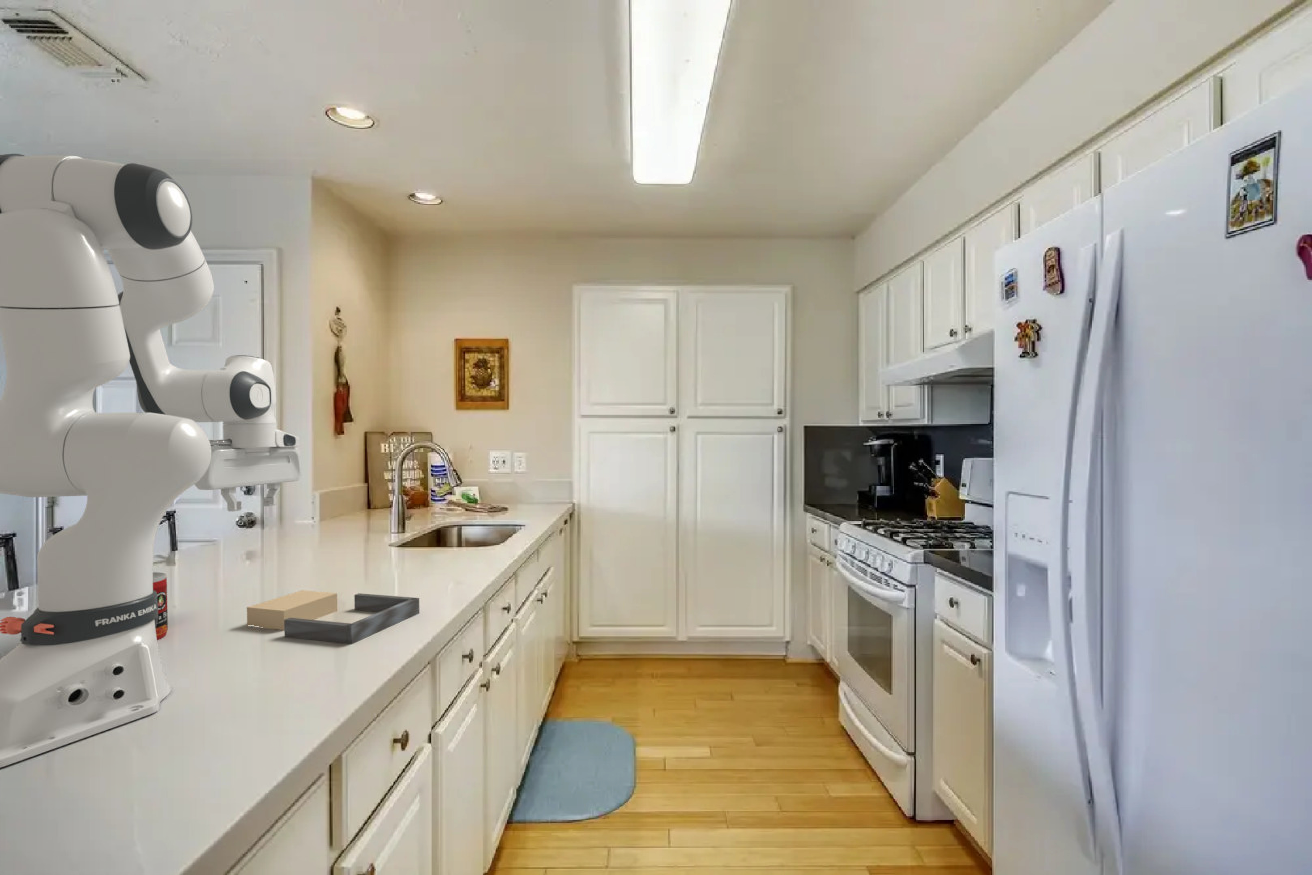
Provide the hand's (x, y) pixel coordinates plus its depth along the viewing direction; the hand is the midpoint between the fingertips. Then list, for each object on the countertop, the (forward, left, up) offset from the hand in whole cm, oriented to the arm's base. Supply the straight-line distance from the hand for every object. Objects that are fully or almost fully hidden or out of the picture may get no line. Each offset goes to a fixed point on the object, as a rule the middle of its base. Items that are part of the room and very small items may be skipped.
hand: (252, 508), depth 117 cm
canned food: (-16, +7, -22) cm, 28 cm away
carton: (0, -10, -22) cm, 24 cm away
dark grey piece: (0, -24, -21) cm, 32 cm away
